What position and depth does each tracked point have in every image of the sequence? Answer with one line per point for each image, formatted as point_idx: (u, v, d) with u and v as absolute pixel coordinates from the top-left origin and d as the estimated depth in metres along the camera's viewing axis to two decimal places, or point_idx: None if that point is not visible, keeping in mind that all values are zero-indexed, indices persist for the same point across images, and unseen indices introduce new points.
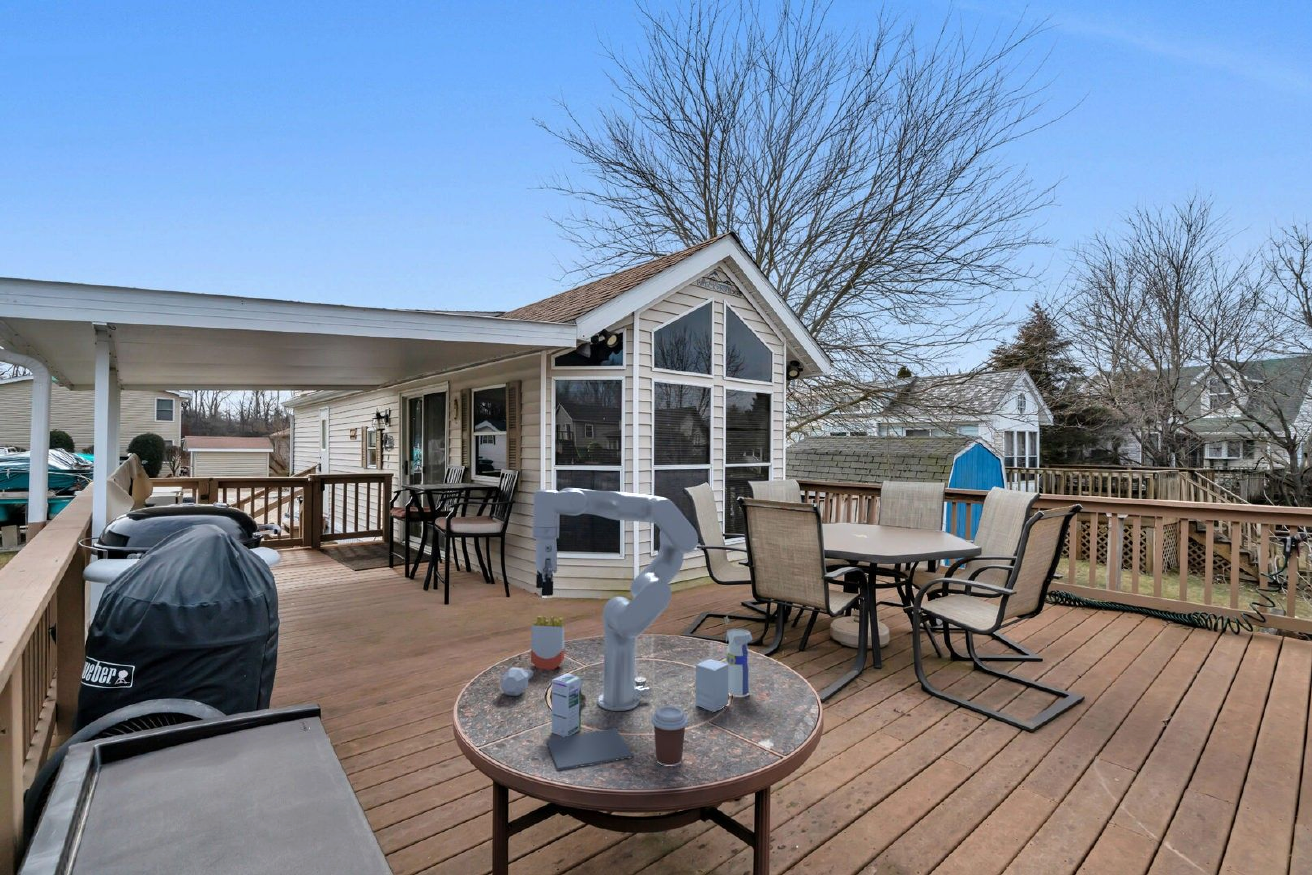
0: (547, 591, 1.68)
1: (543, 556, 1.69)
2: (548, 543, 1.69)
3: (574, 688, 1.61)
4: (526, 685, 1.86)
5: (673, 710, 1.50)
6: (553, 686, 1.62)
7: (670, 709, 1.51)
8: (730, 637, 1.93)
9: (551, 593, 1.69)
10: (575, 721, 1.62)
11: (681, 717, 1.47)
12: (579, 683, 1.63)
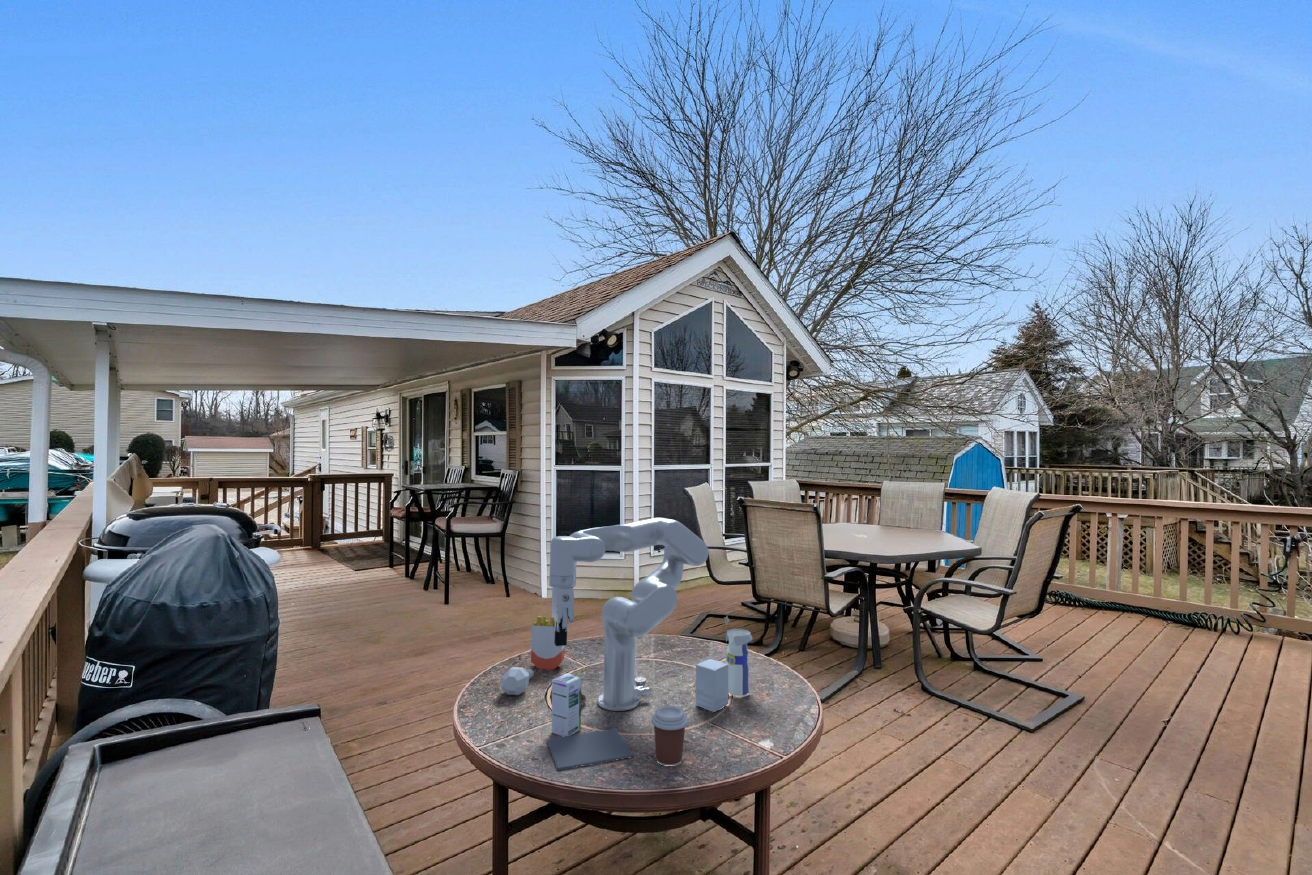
0: (561, 641, 1.69)
1: (560, 606, 1.66)
2: (565, 592, 1.67)
3: (574, 688, 1.61)
4: (526, 685, 1.87)
5: (673, 710, 1.50)
6: (553, 686, 1.62)
7: (670, 709, 1.51)
8: (730, 637, 1.93)
9: (565, 643, 1.70)
10: (575, 721, 1.62)
11: (681, 717, 1.47)
12: (579, 683, 1.63)
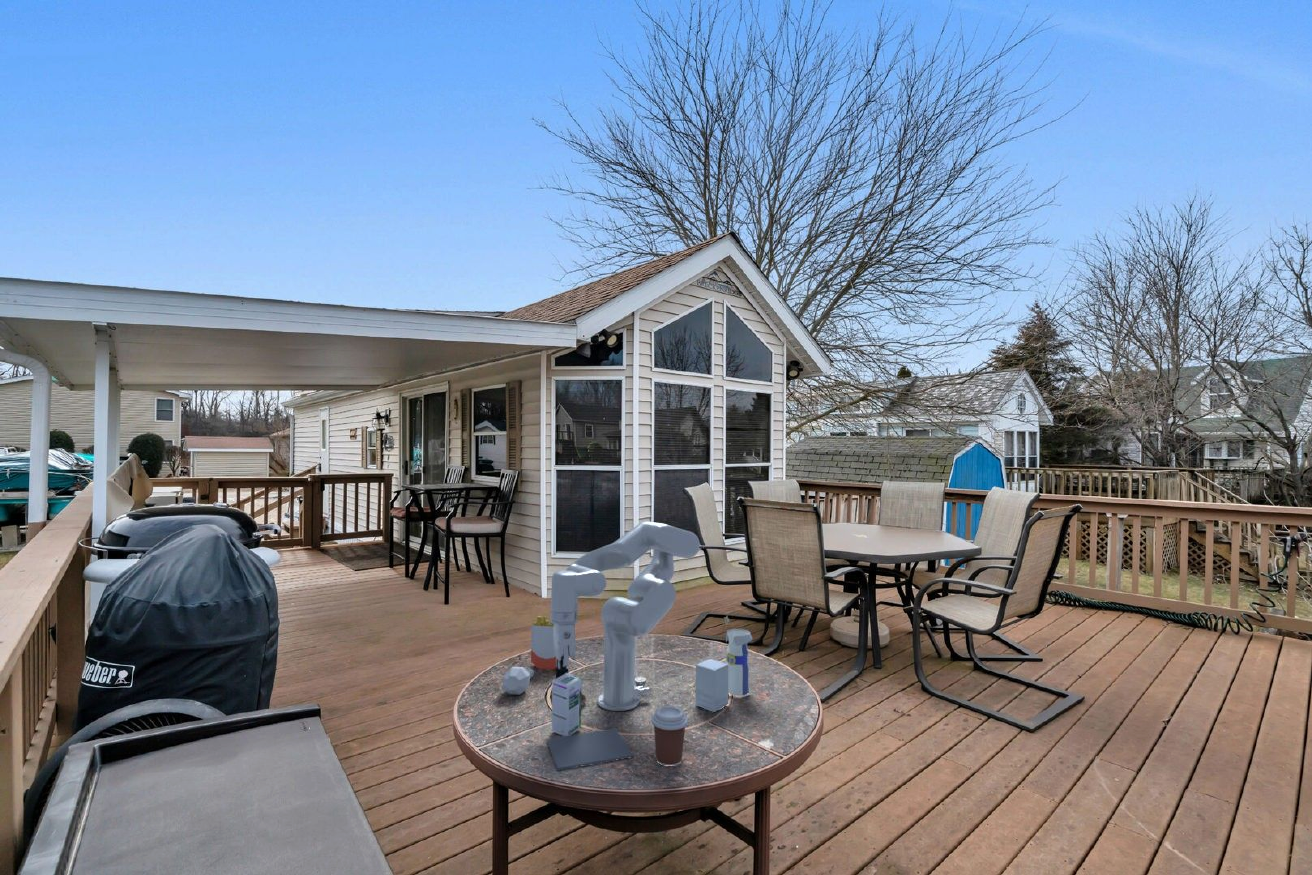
0: None
1: (561, 643, 1.63)
2: (566, 629, 1.63)
3: (574, 690, 1.60)
4: (528, 684, 1.87)
5: (673, 710, 1.50)
6: (553, 687, 1.61)
7: (670, 709, 1.51)
8: (730, 637, 1.93)
9: None
10: (575, 721, 1.61)
11: (681, 717, 1.47)
12: (579, 684, 1.62)
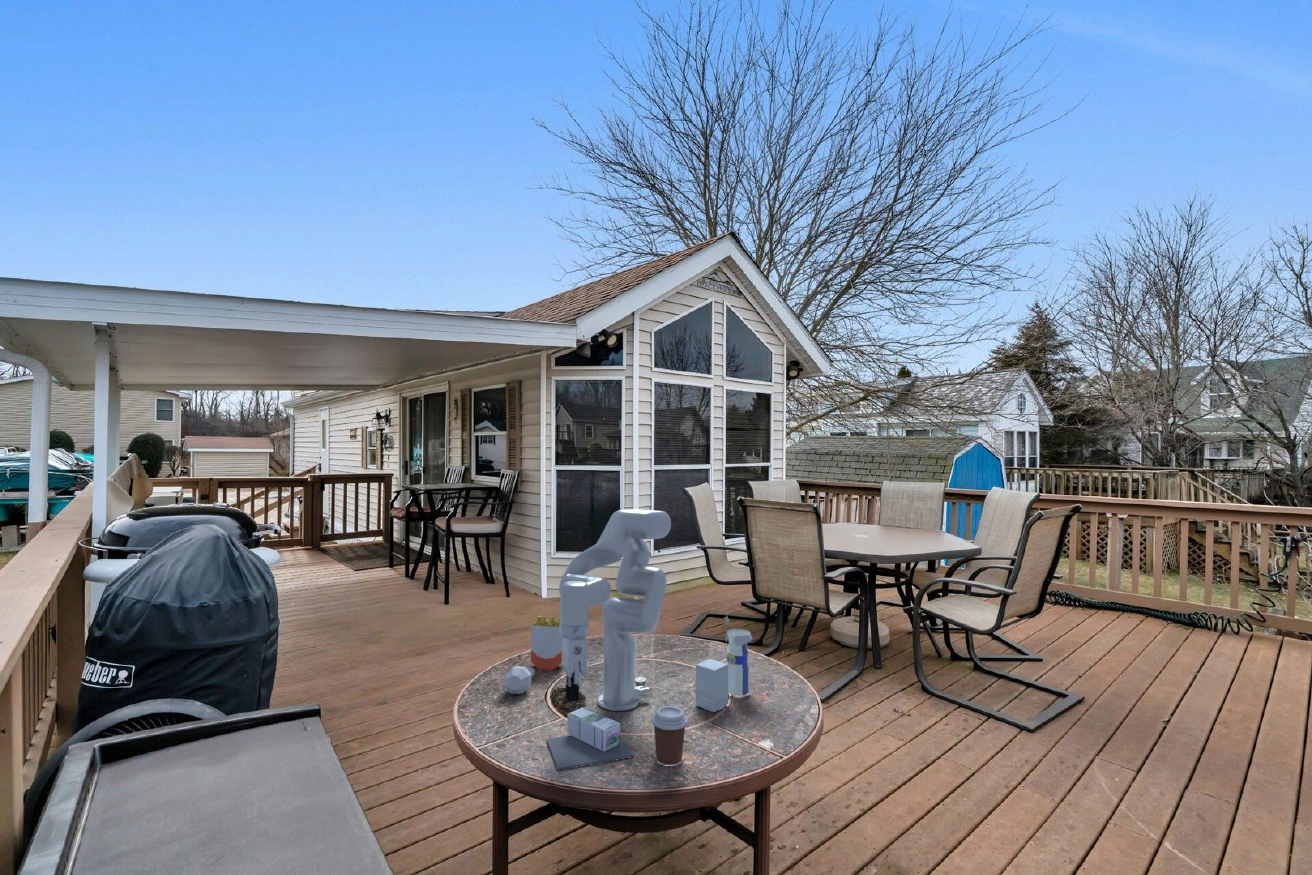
0: (573, 697, 1.55)
1: (572, 659, 1.52)
2: (577, 644, 1.52)
3: None
4: (529, 683, 1.87)
5: (673, 710, 1.50)
6: (599, 730, 1.52)
7: (670, 709, 1.51)
8: (730, 637, 1.93)
9: (577, 698, 1.56)
10: None
11: (681, 717, 1.47)
12: None
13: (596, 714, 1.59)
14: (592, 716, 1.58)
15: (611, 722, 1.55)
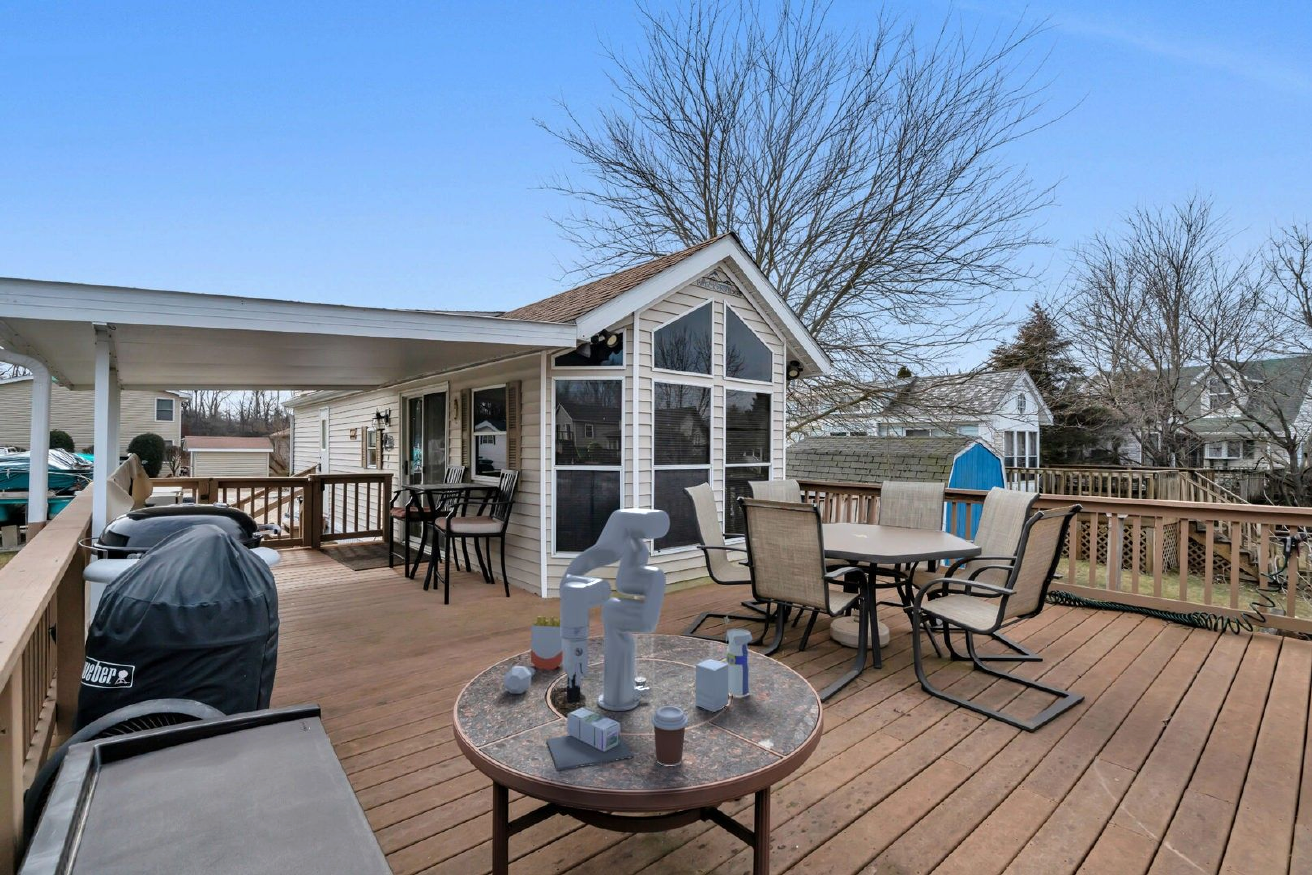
0: (574, 698, 1.55)
1: (573, 661, 1.51)
2: (578, 646, 1.52)
3: None
4: (529, 683, 1.88)
5: (673, 710, 1.50)
6: (599, 730, 1.52)
7: (670, 709, 1.51)
8: (730, 637, 1.93)
9: (578, 699, 1.56)
10: None
11: (681, 717, 1.47)
12: None
13: (596, 714, 1.59)
14: (592, 716, 1.58)
15: (611, 722, 1.55)
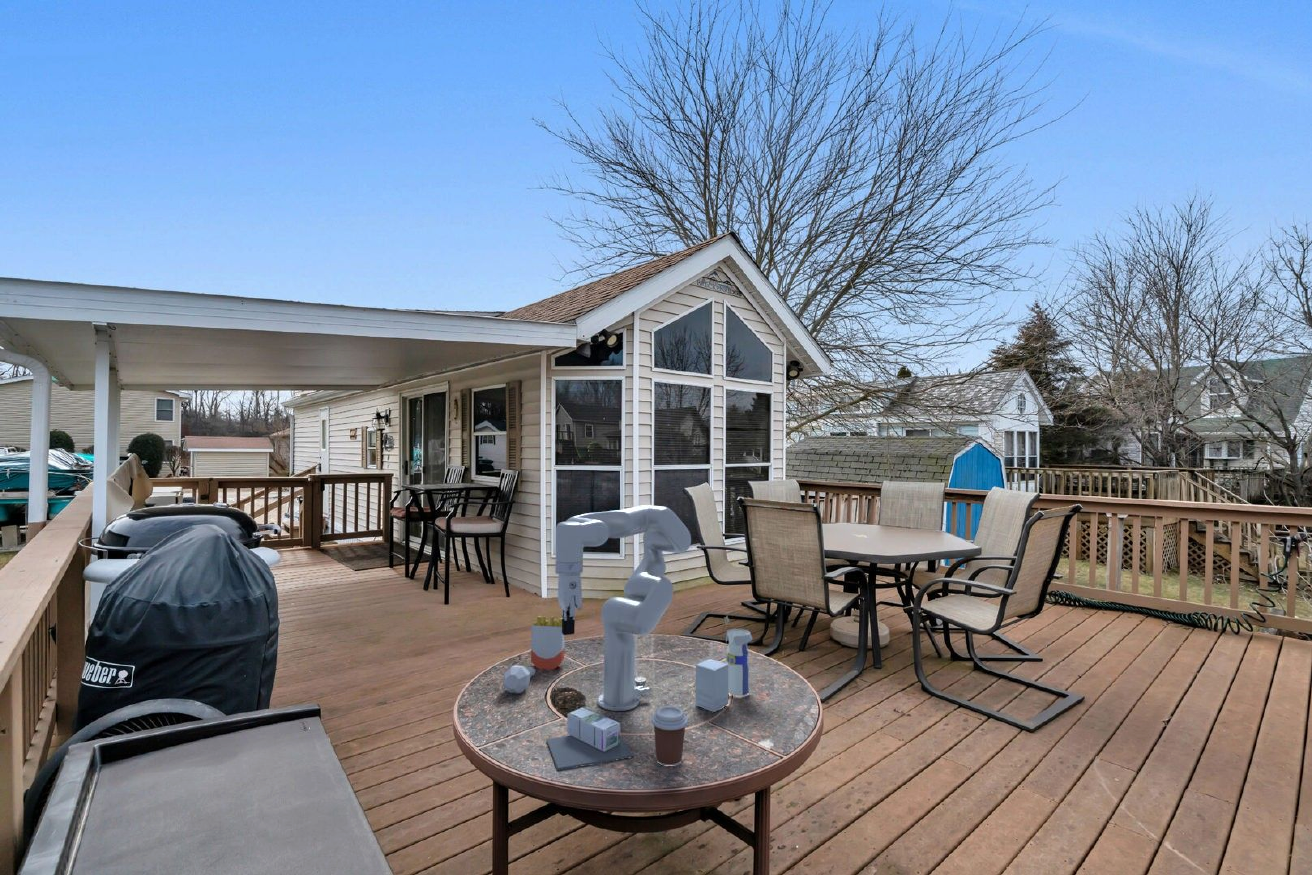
0: (568, 630, 1.63)
1: (567, 593, 1.60)
2: (572, 579, 1.60)
3: None
4: (528, 683, 1.88)
5: (673, 710, 1.50)
6: (599, 730, 1.52)
7: (670, 709, 1.51)
8: (730, 637, 1.93)
9: (572, 632, 1.64)
10: None
11: (681, 717, 1.47)
12: None
13: (596, 714, 1.59)
14: (592, 716, 1.58)
15: (611, 722, 1.55)
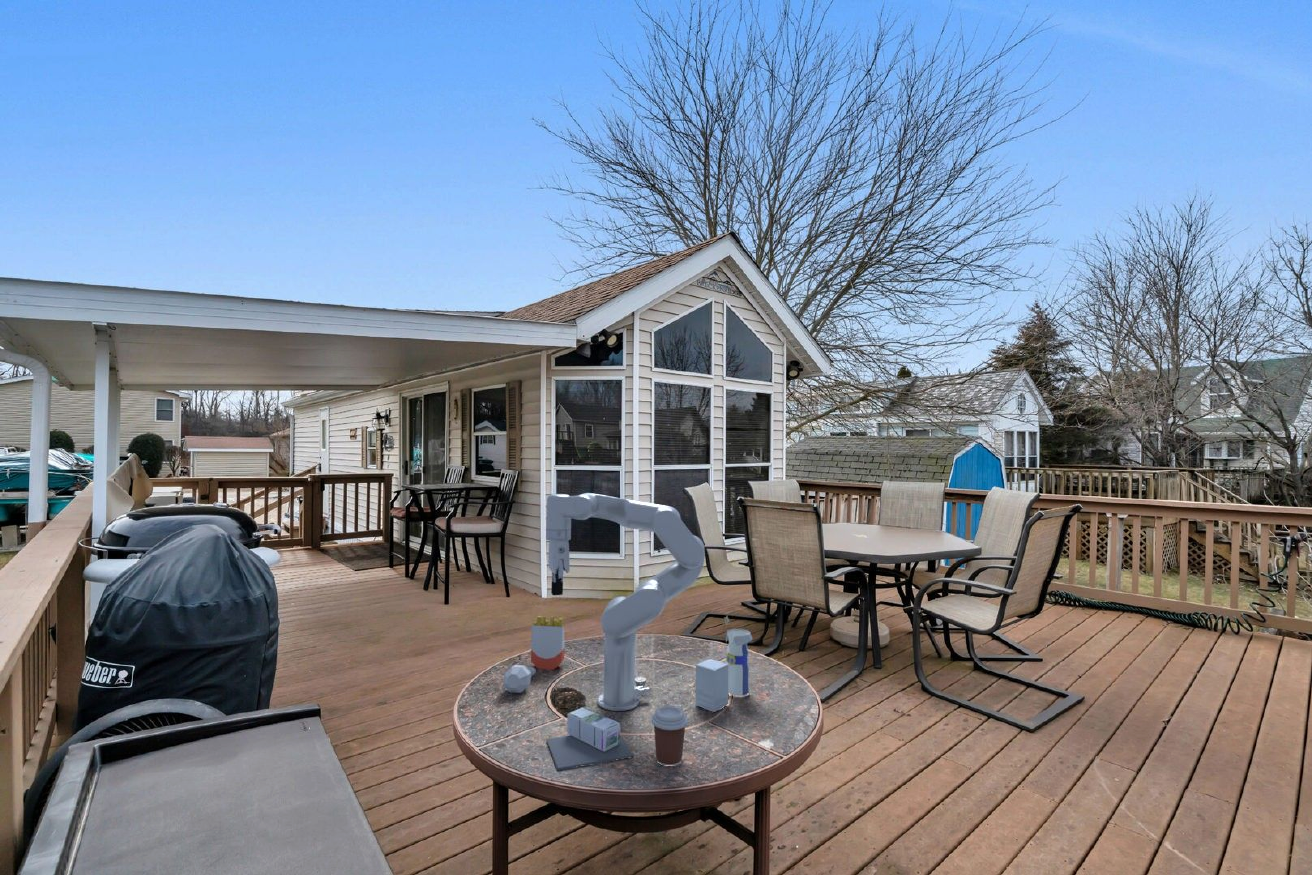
0: (557, 591, 1.82)
1: (556, 557, 1.79)
2: (561, 545, 1.79)
3: None
4: (528, 682, 1.88)
5: (673, 710, 1.50)
6: (599, 730, 1.52)
7: (670, 709, 1.51)
8: (730, 637, 1.93)
9: (561, 593, 1.83)
10: None
11: (681, 717, 1.47)
12: None
13: (596, 714, 1.59)
14: (592, 716, 1.58)
15: (611, 722, 1.55)
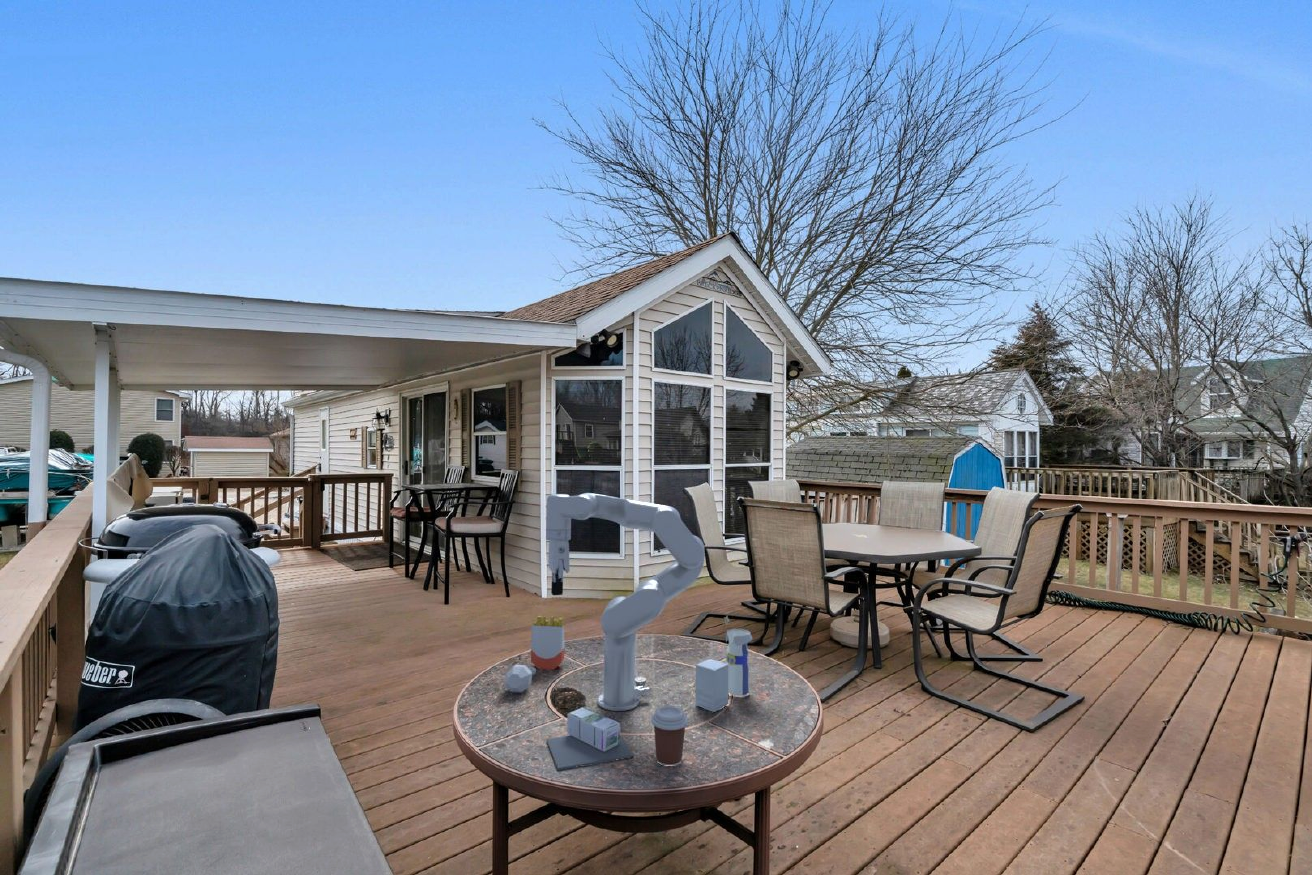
0: (557, 591, 1.82)
1: (556, 557, 1.79)
2: (561, 545, 1.79)
3: None
4: (530, 682, 1.89)
5: (673, 710, 1.50)
6: (599, 730, 1.52)
7: (670, 709, 1.51)
8: (730, 637, 1.93)
9: (561, 593, 1.83)
10: None
11: (681, 717, 1.47)
12: None
13: (596, 714, 1.59)
14: (592, 716, 1.58)
15: (611, 722, 1.55)
